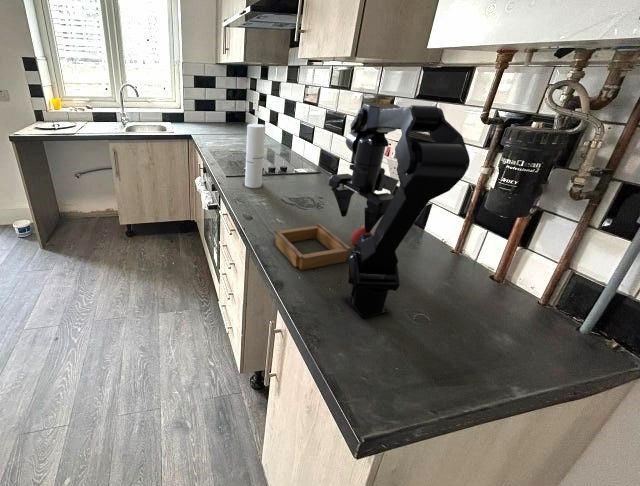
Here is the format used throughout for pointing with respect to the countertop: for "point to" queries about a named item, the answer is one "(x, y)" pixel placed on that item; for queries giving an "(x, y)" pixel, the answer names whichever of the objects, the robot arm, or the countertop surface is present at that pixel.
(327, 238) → the square wooden frame
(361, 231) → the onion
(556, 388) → the countertop surface
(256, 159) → the cylindrical container
